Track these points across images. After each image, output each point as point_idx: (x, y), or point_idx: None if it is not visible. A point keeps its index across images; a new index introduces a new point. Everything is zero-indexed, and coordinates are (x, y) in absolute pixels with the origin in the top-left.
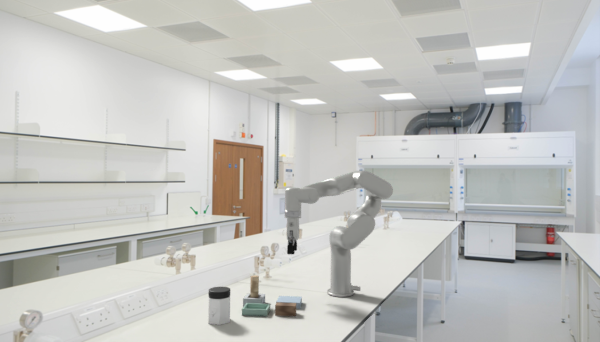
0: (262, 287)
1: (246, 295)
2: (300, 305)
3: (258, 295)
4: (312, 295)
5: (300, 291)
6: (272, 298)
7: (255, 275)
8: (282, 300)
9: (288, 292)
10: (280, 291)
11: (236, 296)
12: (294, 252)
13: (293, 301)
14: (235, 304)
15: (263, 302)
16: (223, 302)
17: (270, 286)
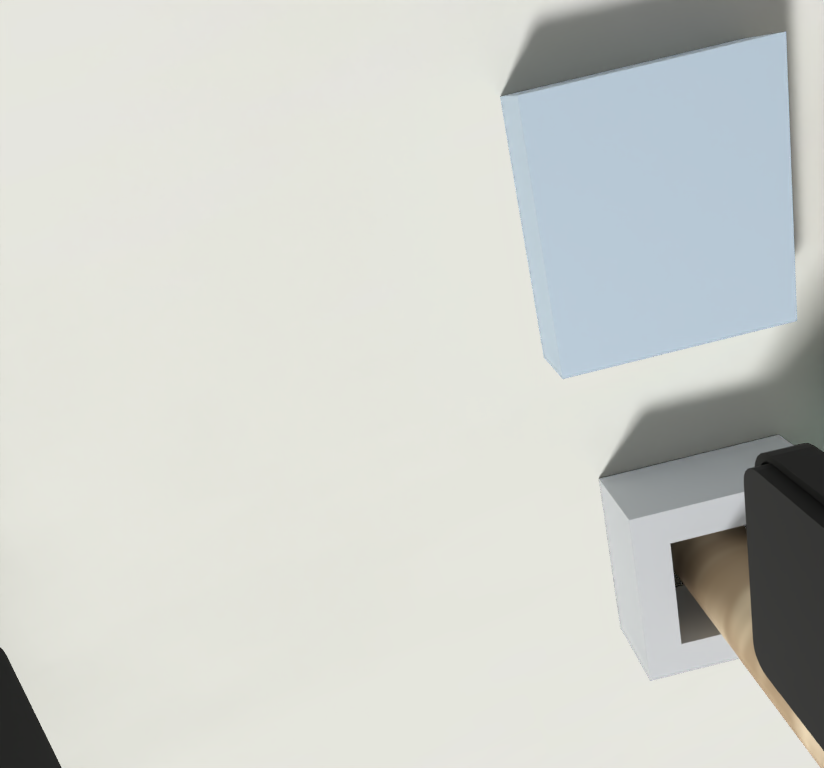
0: (99, 711)
1: (726, 654)
2: (688, 52)
3: (669, 564)
4: (140, 49)
5: (34, 269)
6: (454, 463)
7: (821, 757)
8: (732, 275)
9: (153, 392)
10: (157, 490)
11: (501, 764)
12: (796, 470)
13: (745, 134)
14: (727, 667)
15: (700, 466)
16: None
17: (14, 661)
